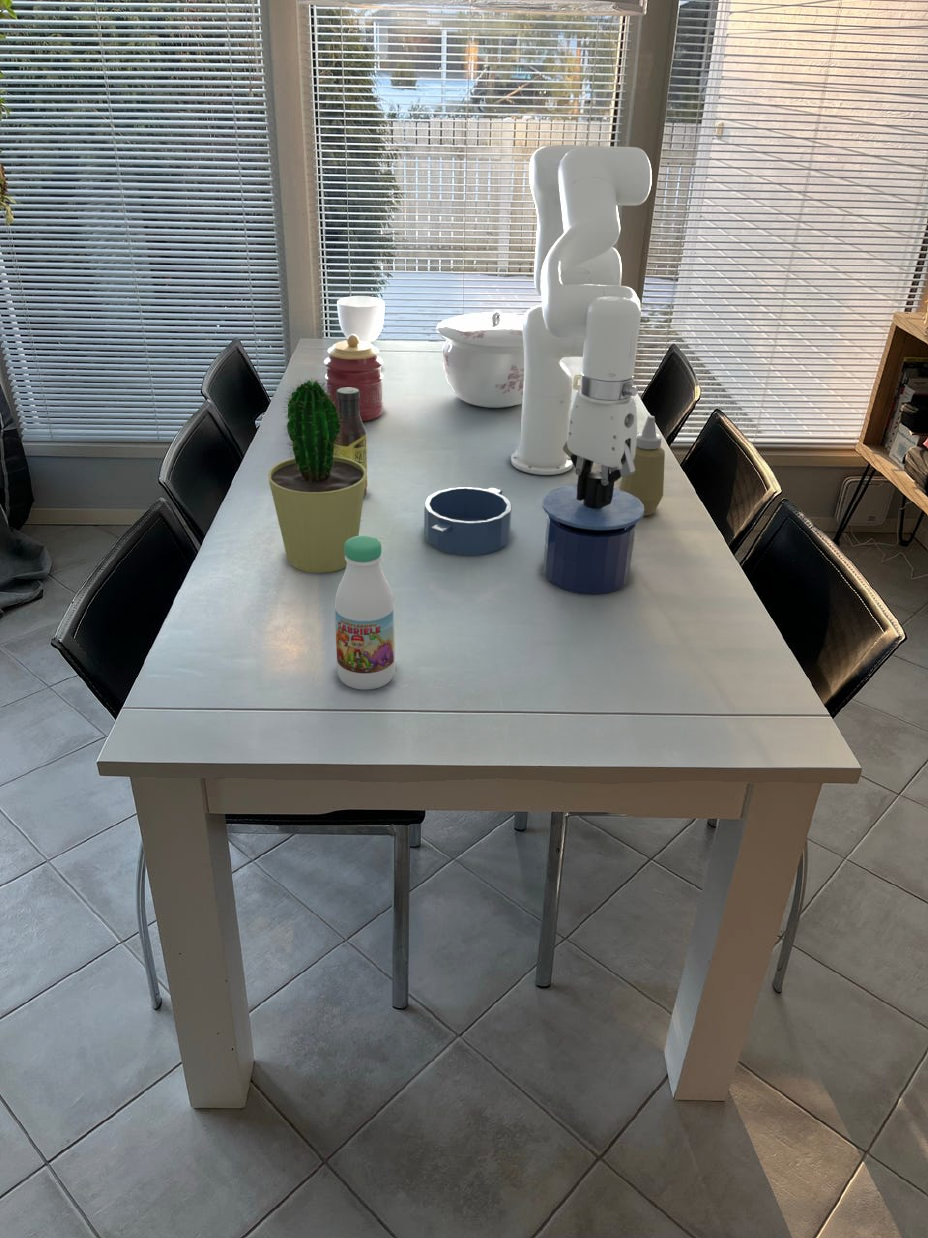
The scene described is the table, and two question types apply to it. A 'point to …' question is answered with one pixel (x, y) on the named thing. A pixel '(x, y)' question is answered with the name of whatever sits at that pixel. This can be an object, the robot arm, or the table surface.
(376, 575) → the milk bottle
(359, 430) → the sauce bottle
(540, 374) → the robot arm
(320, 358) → the table surface
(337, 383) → the kitchen canister
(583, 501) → the lid
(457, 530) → the pan
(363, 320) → the cup
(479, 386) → the chamber pot
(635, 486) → the squeeze bottle
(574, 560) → the pot
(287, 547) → the potted cactus
